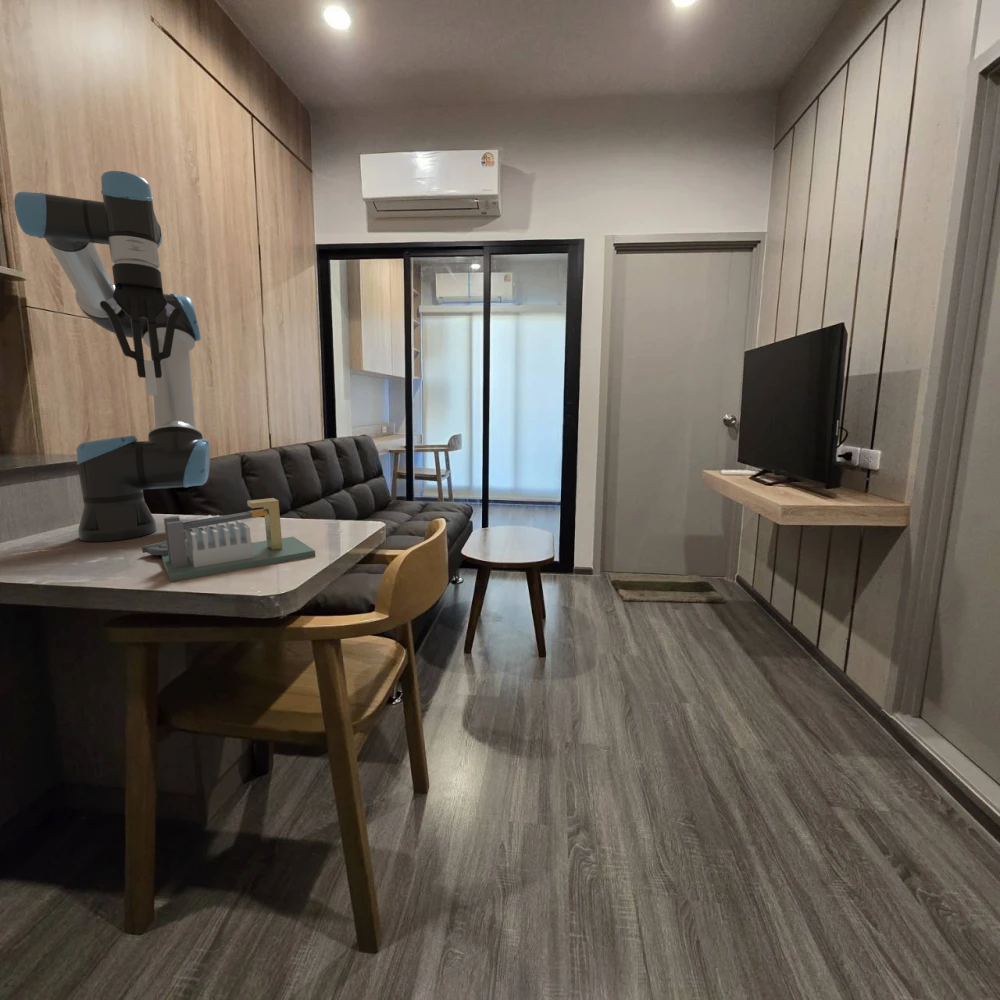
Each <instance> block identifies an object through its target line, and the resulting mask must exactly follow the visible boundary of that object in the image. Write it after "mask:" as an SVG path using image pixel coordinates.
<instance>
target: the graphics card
mask: <svg viewBox="0 0 1000 1000" xmlns="http://www.w3.org/2000/svg"><path fill="white" fill-rule="evenodd" d="M213 527H214V526H213ZM214 528H215V529H216V526H215V527H214ZM204 530H205V531H206V527H204ZM216 530H217V529H216ZM206 533H207V531H206ZM184 536H185V541H186V535H184ZM196 539H197V535H196ZM185 545H186V542H185ZM141 550H142V551H141V552H142V553H143V554H145V553H147V554H149V555H151V556H161V557H162V556H168V549H167V541H166V540H164V541H159V542H156V543H151V544H146V545H142V546H141ZM186 553H187V551H186Z"/></svg>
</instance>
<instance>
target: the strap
mask: <svg viewBox="0 0 1000 1000" xmlns="http://www.w3.org/2000/svg"><path fill="white" fill-rule="evenodd" d="M267 515H268V514H267V511H266V510H264V508H260V509H259V508H258V509H254V510H248V511H245V512H238V513H232V514H225V515H221V516H214V517H207V518H203V519H196V520H189V521H185V522H183V528H184V531H185V530H186V529H196V528H197V527H202V528H203V527H206V526H208V525H212V526H213V525H216V524H220V523H221V524H226V522H236V521H237V520H240V521H243V520H246V519H254V518H261V517H265V516H267Z"/></svg>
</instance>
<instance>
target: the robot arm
mask: <svg viewBox="0 0 1000 1000" xmlns="http://www.w3.org/2000/svg"><path fill="white" fill-rule="evenodd" d="M100 180H101V195H102V201H98V200H92V199H91V200H90V199H82V198H77V197H76V198H75V197H71V196H70V197H68V196H62V195H56V194H49V193H44V192H32V191H31V192H30V191H29V192H28V191H19V192H17V193H15V195H14V201H13V204H14V211H15V215H16V216H15V217H16V219H17V222H18V225H19V227H20V229H21V230H22V232H23V233H24V234H25V235H28V236H29V237H35V238H39V239H44V240H46V243H47V244H48V246H49V247H50V249H51V251H52V253H53V255H54V256H55V258H56V259H57V261H58V263H59V265H60V267H61V268H62V269H63V272H64V273H65V275H66V277H67V278H68V281H69V282H70V284H71V285H72V286H73V289H74V291H75V301H76V303H77V304H78V306H79V308H80V309H81V311H82V313H83V314H84V315H85V316H87V318H89V319H90V320H91V321H92V322H93V323H95V324H97V325H98V326H100V327H101V328H103V329H104V330H107V331H109V332H111V333H113V334H115V336H116V338H117V341H118V343H119V346H120V349H121V351H122V353H123V355H124V356H125V357H126V358H130V359H133V360H134V361H135V364H136V370H137V376H138V378H142V379H143V378H145V381H144V382H145V387H146V394H147V395H146V396H152V397H153V410H154V411H153V415H154V428H153V429H151V430H150V431H149V432H148V434H147V435H148V440H145V441H144V440H143V441H139V440H138V438H137V437H136V436H135V435H128V436H125V435H124V436H118V437H111V438H104V439H103V438H102V439H96V440H90V441H85V442H81V443H80V444H79V445H78V446H77V447H76V450H75V451H76V465H77V469H78V475H79V476H78V477H79V482H80V489H81V496H82V501H83V509H82V512H81V513H82V514H81V517H80V521H79V525H78V529H77V532H78V539H79V540H80V541H81V542H95V543H96V542H113V541H123V540H126V539H127V540H128V539H133V538H139V537H144V536H147V535H149V534H153V533H155V532H156V531H157V524H156V523H157V522H156V520H155V518H154V516H153V514H152V512H151V511H150V508H149V507H148V505H147V503H146V502H145V501H146V500H145V498H144V490H155V489H156V490H157V489H171V488H172V489H173V488H174V489H175V488H189V487H195V486H196V487H197V486H202V485H204V484H206V482H207V481H208V479H209V475H210V465H211V463H210V462H211V455H210V454H211V444H210V441H209V440H208V439H206V438H203V433H202V431H200V430H198V429H197V428H196V422H195V409H194V399H193V396H194V395H193V389H192V388H193V386H192V372H191V362H190V361H191V360H190V351H192V350H193V349H194V348H195V345H196V342H198V341H201V333H200V328H199V323H198V319H197V315H196V314H197V313H196V310H195V307H194V303H193V301H192V299H191V298H190V297H189V296H186V295H180V294H175V293H170V294H167V293H164V289H163V281H162V272H161V271H160V270H159V268H160V267H161V264H160V257H159V247H160V246H161V245H162V244H161V243H162V240H163V236H162V230H161V225H160V223H159V221H158V220H157V216H156V214H155V210H154V203H153V202H154V198H153V195H152V189H151V185H150V184H149V182H148V181H147V180H146V179H145V178H144V177H141V176H139V175H138V174H137V175H136V174H134V173H131V172H126V171H120V170H108V171H105V172H104V173H102V175H101V178H100ZM95 244H101V245H108V246H109V247H108V248H109V254H110V261H111V262H112V263H114V264H113V265H112V266H111V267H112V268H111V269H112V270H111V271H112V275H113V278H112V279H113V282H112V280H111V278H110V275H109V273H108V270H107V269H106V266H105V264H104V262H103V260H102V258H101V255H100V254H99V251H98V249H97V247H96V245H95ZM127 338H132V342H133V350H132V349H131V347H130V344H129V342H128V340H127ZM142 340H143V341H142ZM143 343H144V344H145V345H146V346H147V347H148V348H150V357H151V358H150V359H149V360H147V359H145V358H144V348H143V347H144V346H143Z"/></svg>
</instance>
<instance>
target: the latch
mask: <svg viewBox="0 0 1000 1000" xmlns="http://www.w3.org/2000/svg"><path fill="white" fill-rule="evenodd" d="M279 503H280V500H279V499H276V498H274V497H270V498H268V497H267V498H261V499H252V500H251V499H250V500H247V507H249V508H251V509H259V508H260V509H261V508H263V509H264V510H266V511H267V514H268V515H267V516H264V525H265V534H266V535H265V536H266V538H265V539H266V541H267V546H268V547H269V548H270V549H271V550H276V549H282V538H283V537H282V527H281V526H282V525H281V514H280V504H279Z"/></svg>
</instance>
